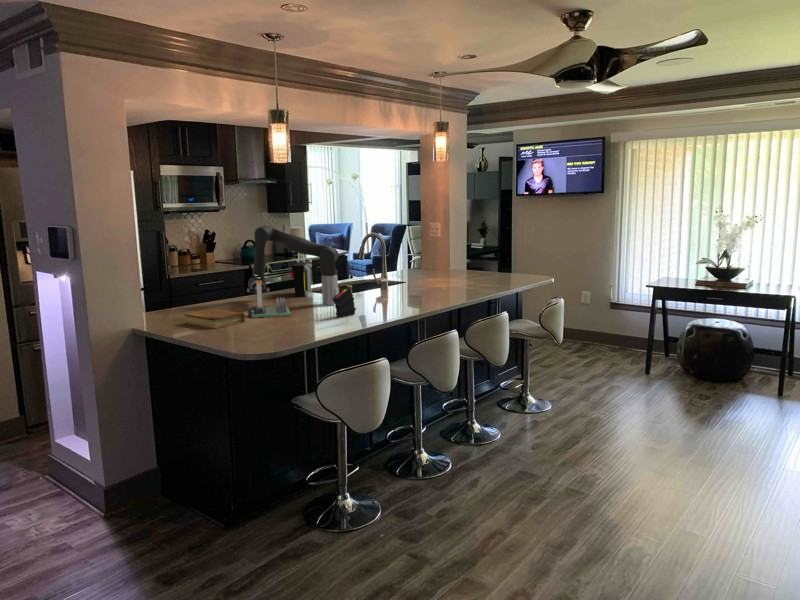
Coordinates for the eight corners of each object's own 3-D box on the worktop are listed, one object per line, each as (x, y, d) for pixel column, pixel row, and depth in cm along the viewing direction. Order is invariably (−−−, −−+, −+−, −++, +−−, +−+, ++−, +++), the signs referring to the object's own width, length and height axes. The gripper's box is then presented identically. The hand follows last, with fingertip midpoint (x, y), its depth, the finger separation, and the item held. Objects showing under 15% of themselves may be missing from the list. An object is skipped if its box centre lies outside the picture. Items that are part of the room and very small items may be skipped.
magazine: (359, 310, 327) (350, 287, 319) (344, 324, 319) (334, 301, 312) (355, 310, 329) (345, 286, 322) (339, 323, 321) (329, 300, 314)
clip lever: (252, 311, 326) (250, 280, 324) (263, 310, 328) (262, 279, 325) (252, 313, 322) (251, 281, 319) (264, 312, 323) (262, 280, 320)
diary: (245, 323, 307) (244, 312, 306) (215, 330, 292) (214, 318, 291) (214, 318, 320) (214, 307, 319) (185, 324, 304) (184, 313, 303)
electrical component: (308, 297, 382) (306, 265, 378) (291, 297, 382) (290, 265, 378) (312, 292, 399) (311, 262, 395) (297, 292, 399) (296, 262, 396)
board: (251, 310, 338) (251, 308, 337) (287, 308, 343) (287, 306, 342) (252, 318, 317) (251, 315, 316) (290, 316, 322) (290, 313, 321)
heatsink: (247, 311, 335) (247, 299, 334) (285, 309, 340) (284, 297, 339) (248, 317, 319) (247, 304, 318) (287, 315, 324) (286, 302, 323)
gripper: (269, 293, 354) (271, 298, 338) (246, 294, 351) (246, 299, 335) (269, 280, 353) (270, 285, 337) (245, 281, 350) (246, 286, 333)
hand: (258, 292), depth 336 cm, fingers closed
